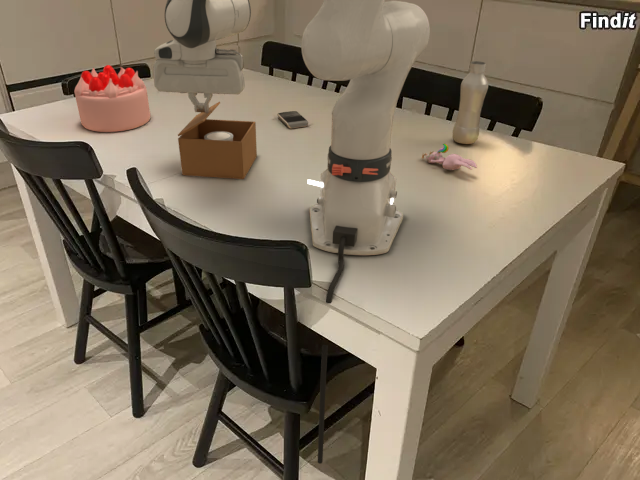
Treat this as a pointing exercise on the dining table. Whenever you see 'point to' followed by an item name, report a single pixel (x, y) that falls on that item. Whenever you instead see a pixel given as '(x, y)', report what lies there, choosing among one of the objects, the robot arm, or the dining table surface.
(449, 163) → the pink elongated figure
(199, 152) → the carton
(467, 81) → the plastic bottle
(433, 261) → the dining table surface
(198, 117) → the flap
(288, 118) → the cell phone
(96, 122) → the cake
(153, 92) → the dining table surface
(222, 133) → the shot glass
